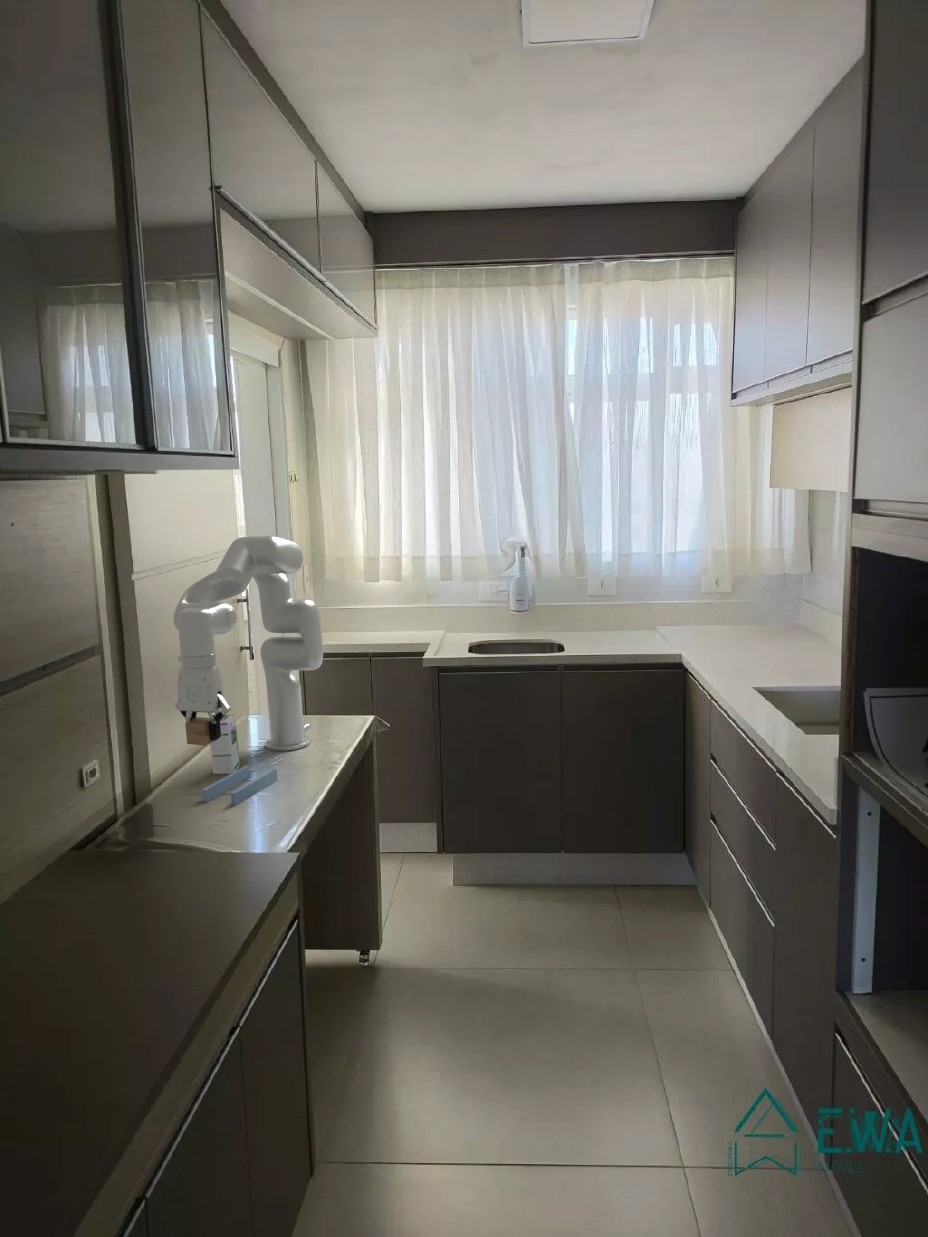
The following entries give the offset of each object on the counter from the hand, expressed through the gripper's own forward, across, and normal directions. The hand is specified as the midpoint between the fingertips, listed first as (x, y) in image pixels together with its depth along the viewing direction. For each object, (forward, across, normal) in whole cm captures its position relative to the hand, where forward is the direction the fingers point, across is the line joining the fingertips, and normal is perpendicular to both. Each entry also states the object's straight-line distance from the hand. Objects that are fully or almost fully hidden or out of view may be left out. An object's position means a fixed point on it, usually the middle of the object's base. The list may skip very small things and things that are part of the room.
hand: (205, 737), depth 209 cm
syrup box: (+18, -13, +24) cm, 32 cm away
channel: (+17, 0, +12) cm, 21 cm away
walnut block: (+1, 0, -1) cm, 1 cm away
